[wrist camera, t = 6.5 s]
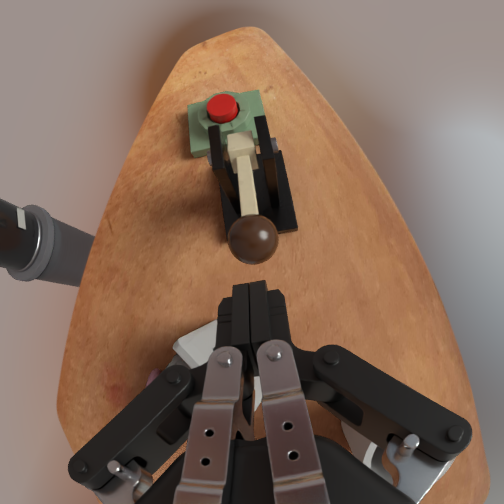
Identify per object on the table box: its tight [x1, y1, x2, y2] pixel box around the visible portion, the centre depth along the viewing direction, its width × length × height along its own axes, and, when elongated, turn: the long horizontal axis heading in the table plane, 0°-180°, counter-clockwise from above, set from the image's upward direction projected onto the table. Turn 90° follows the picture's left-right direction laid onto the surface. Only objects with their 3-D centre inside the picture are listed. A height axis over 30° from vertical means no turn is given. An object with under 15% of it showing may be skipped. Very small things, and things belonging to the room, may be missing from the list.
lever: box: [227, 130, 278, 265], centre depth 23 cm, size 13×3×3 cm, turn 9°
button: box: [207, 94, 238, 123], centre depth 35 cm, size 4×4×2 cm
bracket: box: [207, 115, 298, 241], centre depth 30 cm, size 10×8×13 cm
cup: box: [341, 381, 456, 485], centre depth 24 cm, size 9×9×12 cm
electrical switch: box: [165, 319, 262, 412], centre depth 29 cm, size 9×5×9 cm, turn 45°
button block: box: [188, 90, 265, 158], centre depth 37 cm, size 10×8×4 cm
